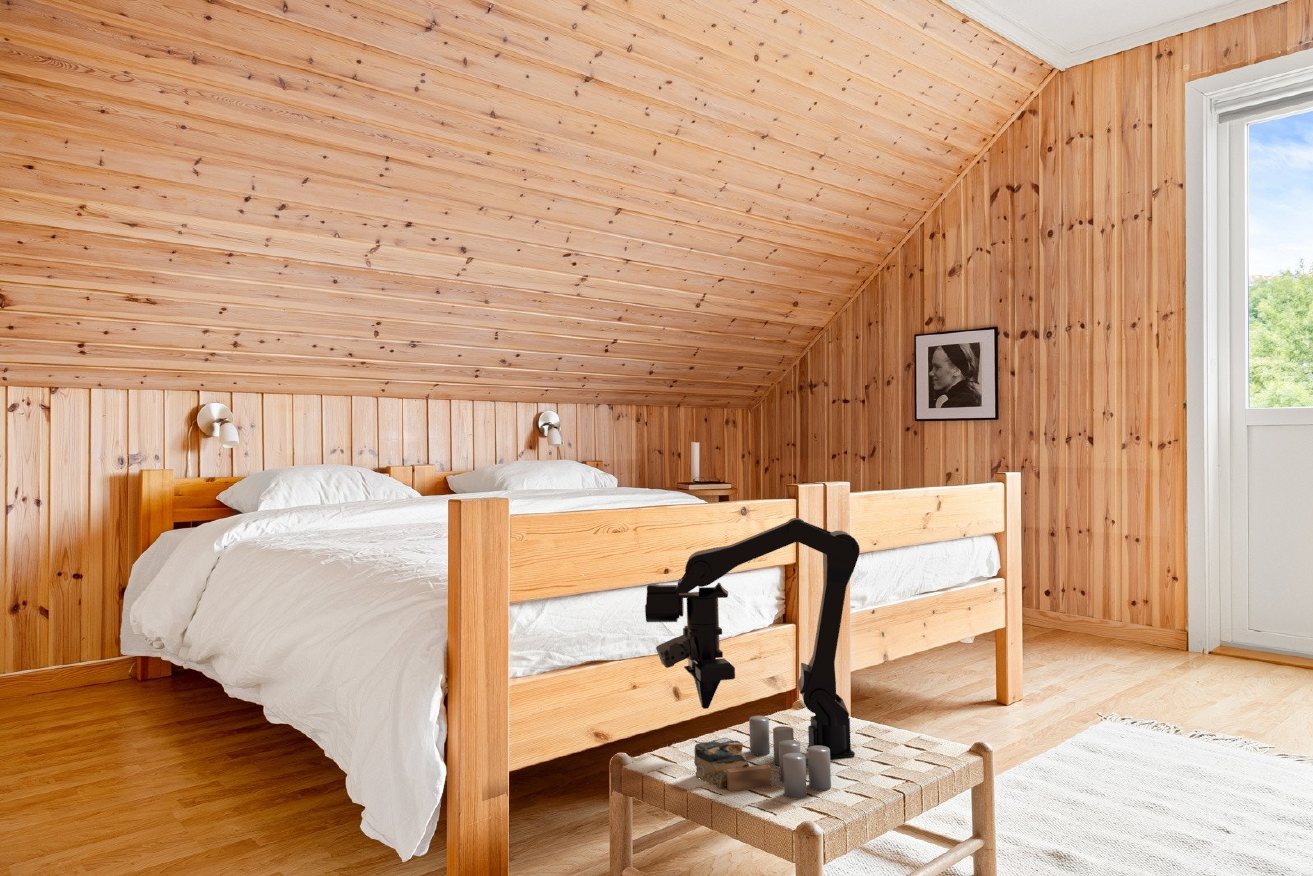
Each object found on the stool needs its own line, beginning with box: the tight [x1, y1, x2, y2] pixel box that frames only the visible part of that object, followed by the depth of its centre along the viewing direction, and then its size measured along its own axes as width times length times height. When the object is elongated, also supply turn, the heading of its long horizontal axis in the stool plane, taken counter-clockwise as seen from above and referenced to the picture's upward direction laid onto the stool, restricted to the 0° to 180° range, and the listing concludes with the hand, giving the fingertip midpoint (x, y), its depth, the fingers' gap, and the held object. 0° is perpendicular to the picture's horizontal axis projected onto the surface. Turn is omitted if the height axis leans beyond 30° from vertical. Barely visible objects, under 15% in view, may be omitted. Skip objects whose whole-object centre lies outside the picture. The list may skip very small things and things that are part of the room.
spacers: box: [748, 715, 832, 800], centre depth 152 cm, size 8×24×6 cm, turn 12°
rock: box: [693, 737, 750, 788], centre depth 150 cm, size 9×9×6 cm
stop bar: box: [726, 764, 772, 792], centre depth 145 cm, size 7×2×3 cm, turn 102°
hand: (705, 708), depth 162 cm, fingers closed
